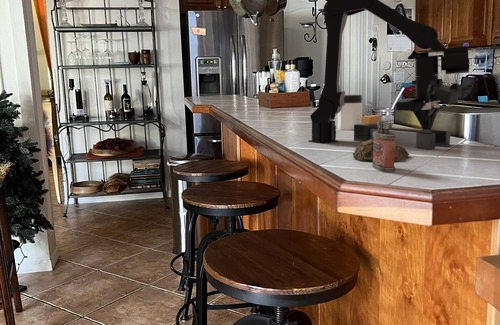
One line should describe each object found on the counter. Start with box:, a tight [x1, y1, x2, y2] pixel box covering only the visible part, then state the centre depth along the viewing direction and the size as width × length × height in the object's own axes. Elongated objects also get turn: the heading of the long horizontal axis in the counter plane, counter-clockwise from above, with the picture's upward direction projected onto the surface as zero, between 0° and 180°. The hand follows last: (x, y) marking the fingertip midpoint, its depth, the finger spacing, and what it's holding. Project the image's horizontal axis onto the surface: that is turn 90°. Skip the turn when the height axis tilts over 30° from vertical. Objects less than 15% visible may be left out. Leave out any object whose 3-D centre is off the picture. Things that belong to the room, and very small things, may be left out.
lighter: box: [371, 120, 396, 174], centre depth 100 cm, size 8×3×10 cm, turn 5°
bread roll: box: [352, 140, 409, 163], centre depth 113 cm, size 13×12×5 cm
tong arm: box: [389, 126, 451, 148], centre depth 131 cm, size 2×19×4 cm, turn 42°
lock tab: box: [361, 114, 382, 124], centre depth 140 cm, size 5×3×2 cm, turn 123°
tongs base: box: [353, 123, 436, 151], centre depth 132 cm, size 9×25×5 cm, turn 33°
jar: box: [337, 94, 363, 131], centre depth 172 cm, size 9×8×12 cm
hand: (427, 134), depth 131 cm, fingers closed
